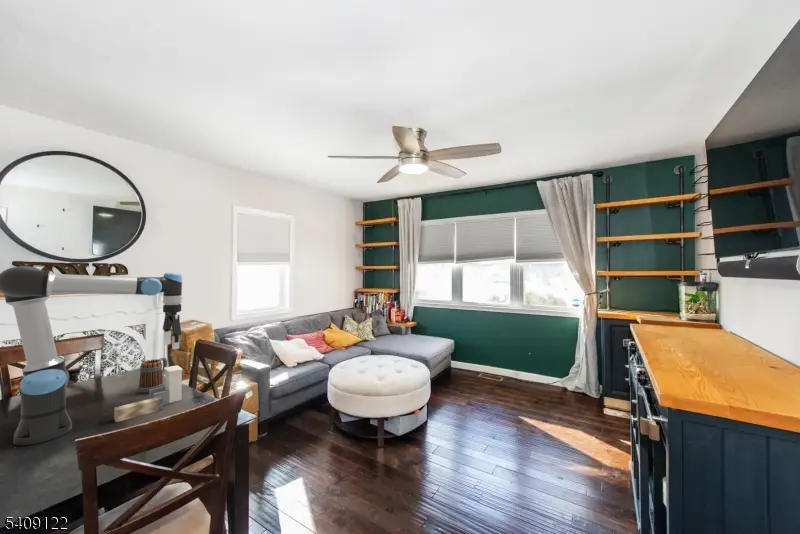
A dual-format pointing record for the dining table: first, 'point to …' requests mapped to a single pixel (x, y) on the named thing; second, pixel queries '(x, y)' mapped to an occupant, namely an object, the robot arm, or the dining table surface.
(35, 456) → the dining table surface
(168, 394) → the u-notched block
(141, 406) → the rail
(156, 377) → the mug
